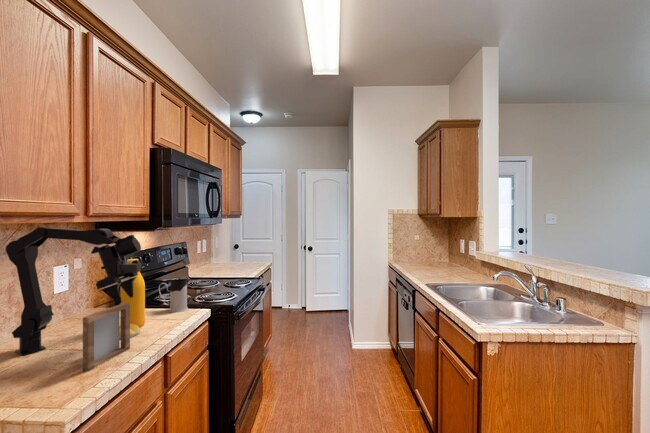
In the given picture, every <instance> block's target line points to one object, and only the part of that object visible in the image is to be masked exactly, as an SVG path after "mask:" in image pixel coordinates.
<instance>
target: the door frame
mask: <svg viewBox="0 0 650 433" xmlns="http://www.w3.org/2000/svg"><path fill="white" fill-rule="evenodd" d="M118 311H119V312H120V311H121V327H120V328H121V339H120V347H119V349H117V350H115V351H113V352H112V353H110V354H108V355H106V356H104V357H102V358H100V359H98V360H96V361H95V362H94V321H95V320H97V319H100V318H103V317H105V316H108V315H110V314H113V313H116V312H118ZM130 348H131V337H130V303H123V304H120V303H119V304H117V305H113V306H111V307H108V308H105V309H104V310H100V311H98V312H95V313H92V314H89V315H85V316H83V317H82V371H83V372H91V371H92V370H94V369H95V367H96V368H97V367H99V366H101V365H102V363H103V364H105V363H106V362H108V361H110V360H111V358H112V359H114V358H116V357H117V356H119V355H121V354H122V353H124V352H126V351H128V350H130ZM115 356H116V357H115ZM113 357H114V358H113ZM109 359H110V360H109ZM107 360H108V361H107ZM105 361H106V362H105ZM104 362H105V363H104ZM100 364H101V365H100ZM98 365H99V366H98Z"/></svg>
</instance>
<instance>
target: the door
mask: <svg viewBox="0 0 650 433" xmlns="http://www.w3.org/2000/svg"><path fill="white" fill-rule="evenodd" d="M119 328H120V311H118V312H116V313H113V314H110V315H108V316H105V317H103V318H100V319H97V320H95V321H94V362H95V361H96V360H98V359H100V358H102V357H104V356H106V355H108V354H110V353H112V352H113V351H115V350H117V349H119V348H120V339H119Z"/></svg>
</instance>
